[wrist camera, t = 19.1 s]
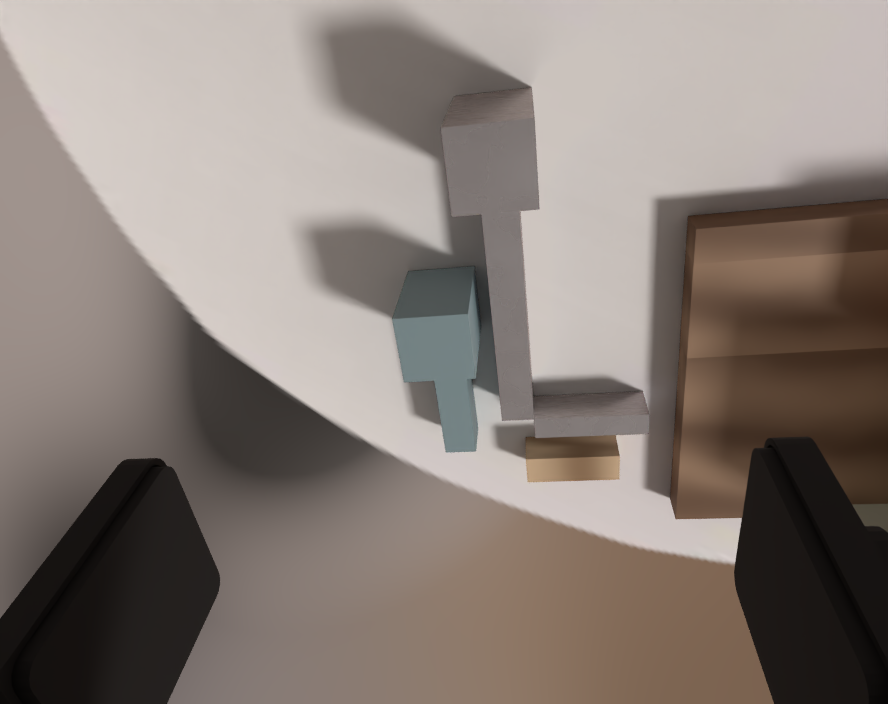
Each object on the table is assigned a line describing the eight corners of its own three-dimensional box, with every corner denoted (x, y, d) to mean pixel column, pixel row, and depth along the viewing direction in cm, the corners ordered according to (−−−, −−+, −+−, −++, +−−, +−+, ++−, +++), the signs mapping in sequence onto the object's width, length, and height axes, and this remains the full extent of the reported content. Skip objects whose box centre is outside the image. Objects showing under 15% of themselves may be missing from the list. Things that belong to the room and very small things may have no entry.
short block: (527, 457, 47) (527, 482, 45) (525, 435, 46) (525, 459, 44) (614, 454, 46) (619, 479, 44) (614, 431, 45) (619, 456, 43)
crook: (454, 96, 34) (440, 127, 28) (653, 73, 33) (683, 101, 27) (489, 416, 45) (485, 488, 39) (642, 409, 43) (661, 483, 38)
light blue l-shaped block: (408, 271, 40) (392, 319, 35) (474, 265, 39) (467, 313, 34) (434, 429, 46) (424, 490, 41) (492, 427, 45) (489, 488, 40)
